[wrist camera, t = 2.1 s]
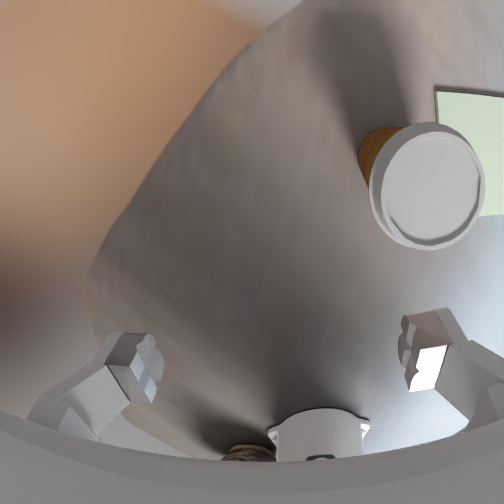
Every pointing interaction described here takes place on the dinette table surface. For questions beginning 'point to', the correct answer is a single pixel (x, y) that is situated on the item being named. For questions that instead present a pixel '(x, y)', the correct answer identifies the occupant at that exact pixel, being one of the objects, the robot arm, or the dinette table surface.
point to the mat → (479, 137)
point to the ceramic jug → (250, 454)
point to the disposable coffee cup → (422, 183)
